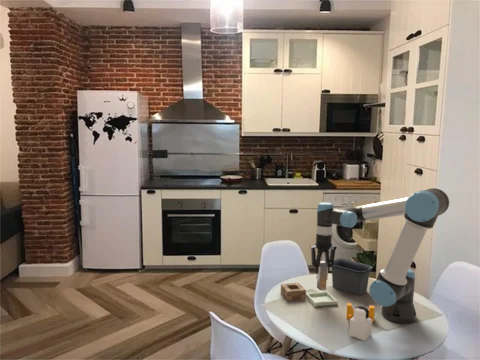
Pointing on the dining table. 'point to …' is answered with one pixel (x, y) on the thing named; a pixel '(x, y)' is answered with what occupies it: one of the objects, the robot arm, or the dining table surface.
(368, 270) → the storage bin
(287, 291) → the hollow wooden square
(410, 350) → the dining table surface
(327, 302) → the tray
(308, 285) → the dining table surface
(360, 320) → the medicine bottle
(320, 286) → the grey wooden beam
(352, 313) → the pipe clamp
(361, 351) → the dining table surface
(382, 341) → the dining table surface
